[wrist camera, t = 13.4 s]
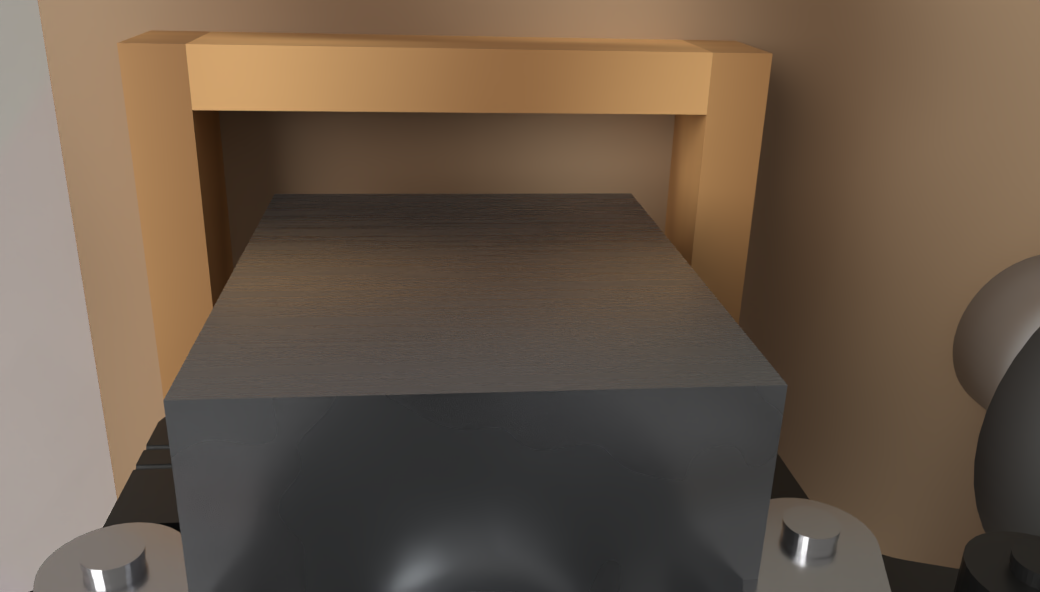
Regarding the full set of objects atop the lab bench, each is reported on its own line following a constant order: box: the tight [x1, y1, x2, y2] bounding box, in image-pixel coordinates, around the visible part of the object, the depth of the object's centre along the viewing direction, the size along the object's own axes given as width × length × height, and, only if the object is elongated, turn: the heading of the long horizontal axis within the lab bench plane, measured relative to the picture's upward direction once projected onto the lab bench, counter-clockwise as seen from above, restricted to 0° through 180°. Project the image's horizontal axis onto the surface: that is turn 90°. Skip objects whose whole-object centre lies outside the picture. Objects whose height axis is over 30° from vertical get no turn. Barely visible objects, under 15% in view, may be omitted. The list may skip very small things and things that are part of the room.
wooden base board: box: [38, 0, 1040, 569], centre depth 14 cm, size 20×12×4 cm, turn 89°
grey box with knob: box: [163, 193, 788, 592], centre depth 10 cm, size 5×6×6 cm
